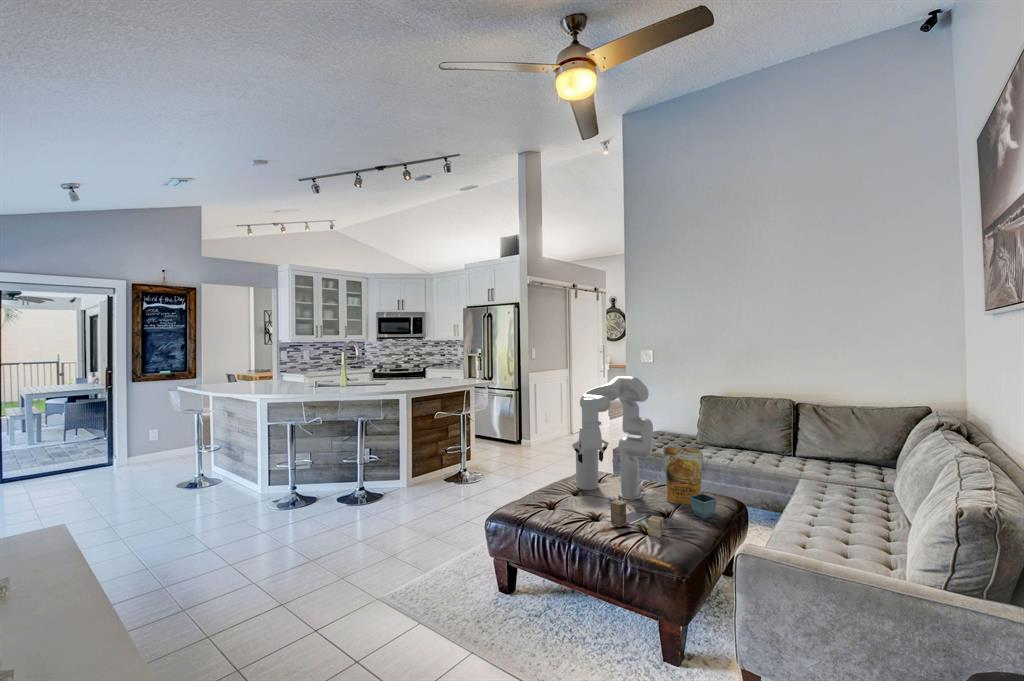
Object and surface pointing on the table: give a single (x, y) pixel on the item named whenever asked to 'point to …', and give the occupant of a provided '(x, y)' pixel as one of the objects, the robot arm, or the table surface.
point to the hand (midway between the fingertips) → (590, 461)
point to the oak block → (655, 526)
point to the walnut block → (618, 513)
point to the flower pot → (703, 505)
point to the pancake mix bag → (682, 474)
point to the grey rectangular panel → (633, 517)
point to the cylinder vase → (587, 470)
